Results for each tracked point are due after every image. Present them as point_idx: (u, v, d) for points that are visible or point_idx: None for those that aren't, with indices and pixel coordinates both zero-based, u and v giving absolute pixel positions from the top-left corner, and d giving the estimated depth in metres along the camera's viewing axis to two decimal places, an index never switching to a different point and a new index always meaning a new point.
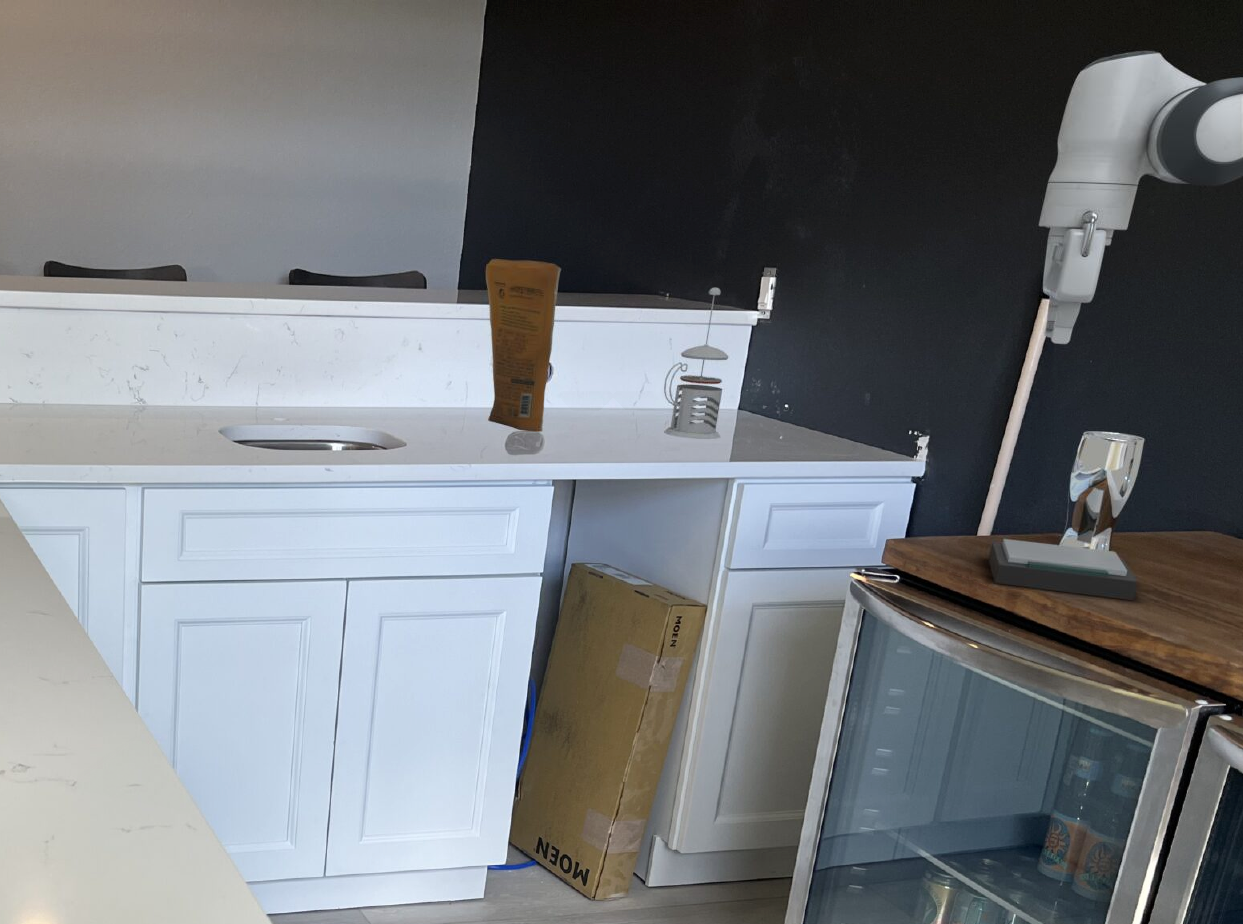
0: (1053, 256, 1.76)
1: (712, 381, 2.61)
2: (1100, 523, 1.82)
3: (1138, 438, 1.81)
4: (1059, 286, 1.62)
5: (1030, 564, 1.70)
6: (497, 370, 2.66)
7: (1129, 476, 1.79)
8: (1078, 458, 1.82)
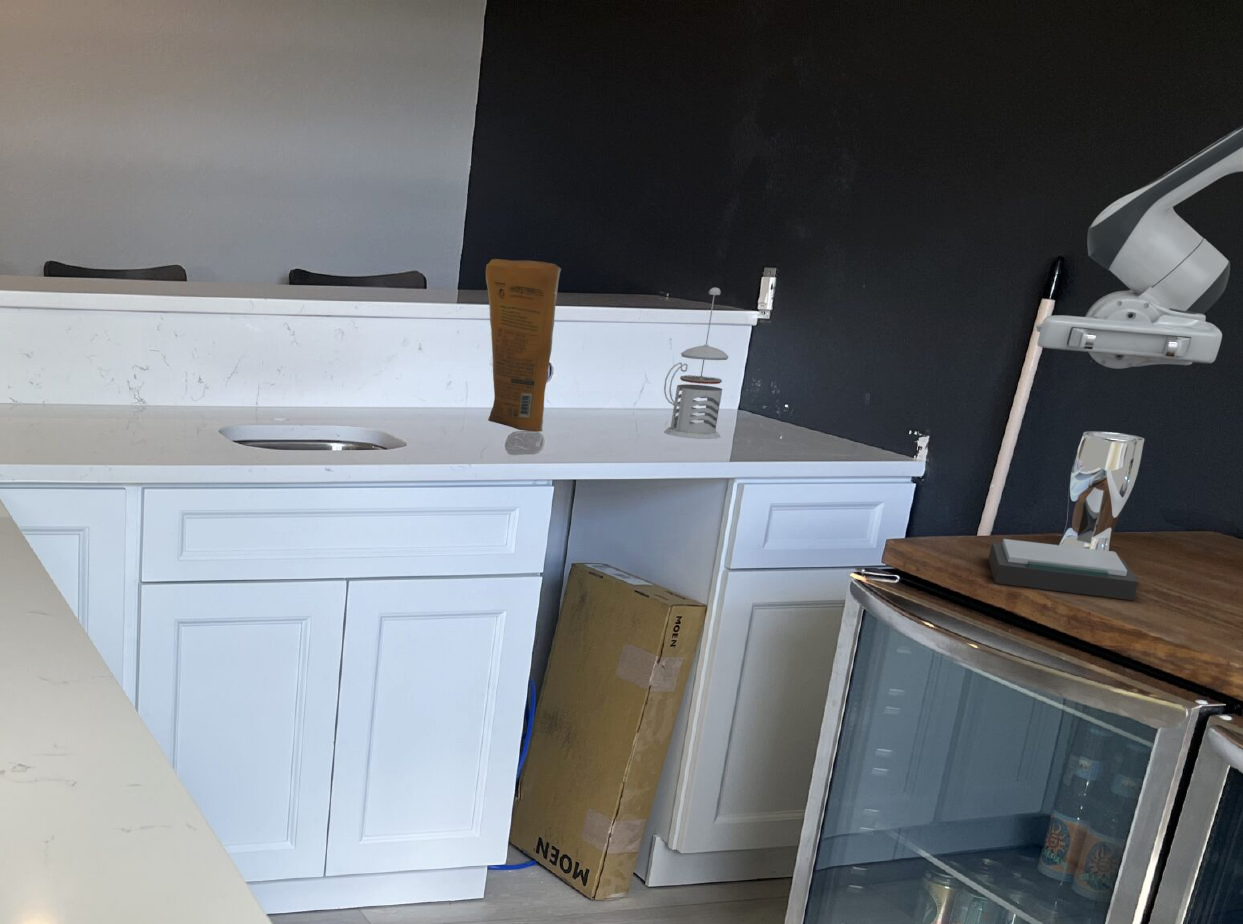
0: None
1: (712, 381, 2.61)
2: (1100, 523, 1.82)
3: (1138, 438, 1.81)
4: (1038, 345, 1.96)
5: (1030, 564, 1.70)
6: (497, 370, 2.66)
7: (1129, 476, 1.79)
8: (1078, 458, 1.82)
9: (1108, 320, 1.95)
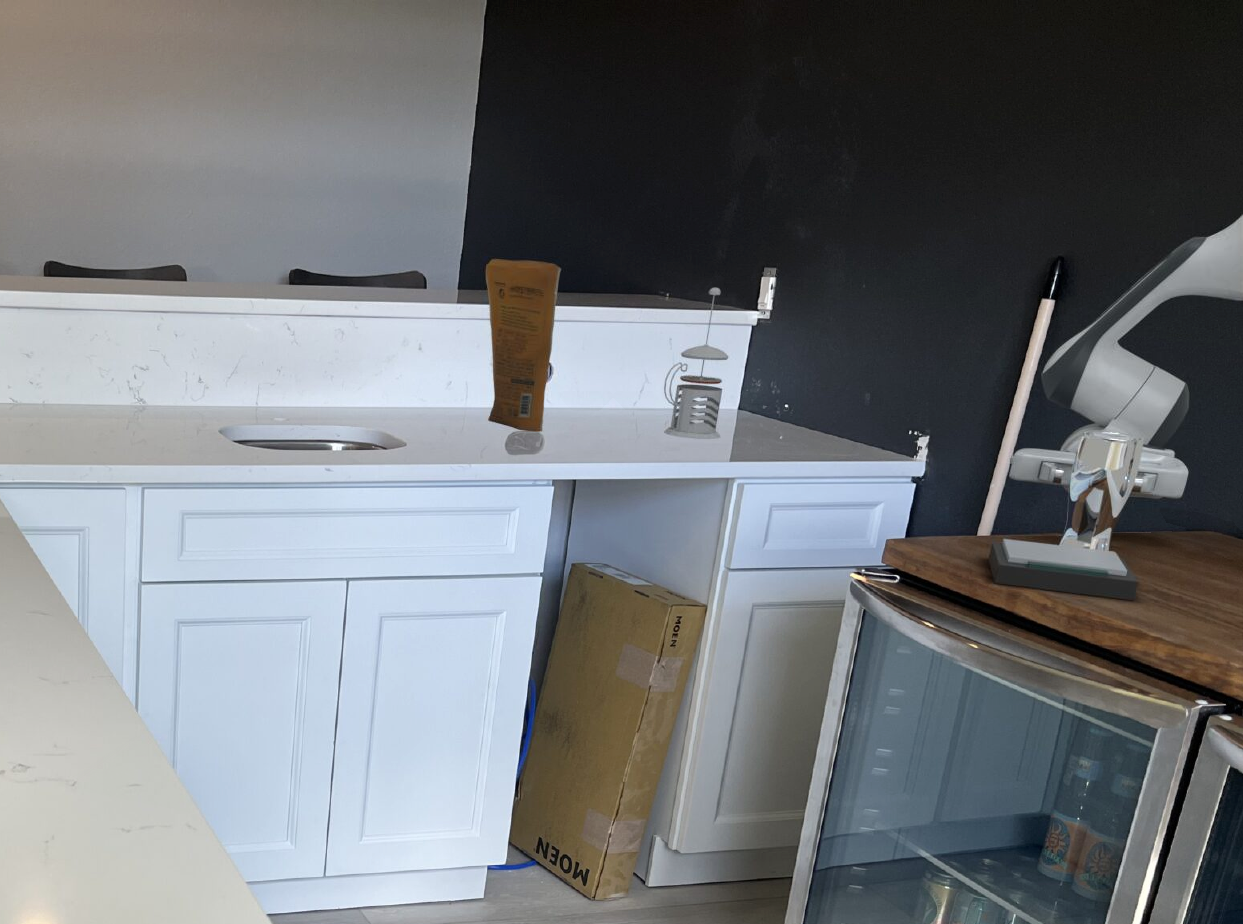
0: None
1: (712, 381, 2.61)
2: (1100, 523, 1.82)
3: (1138, 438, 1.81)
4: (1011, 477, 2.01)
5: (1030, 564, 1.70)
6: (497, 370, 2.66)
7: (1129, 476, 1.79)
8: (1078, 458, 1.82)
9: None
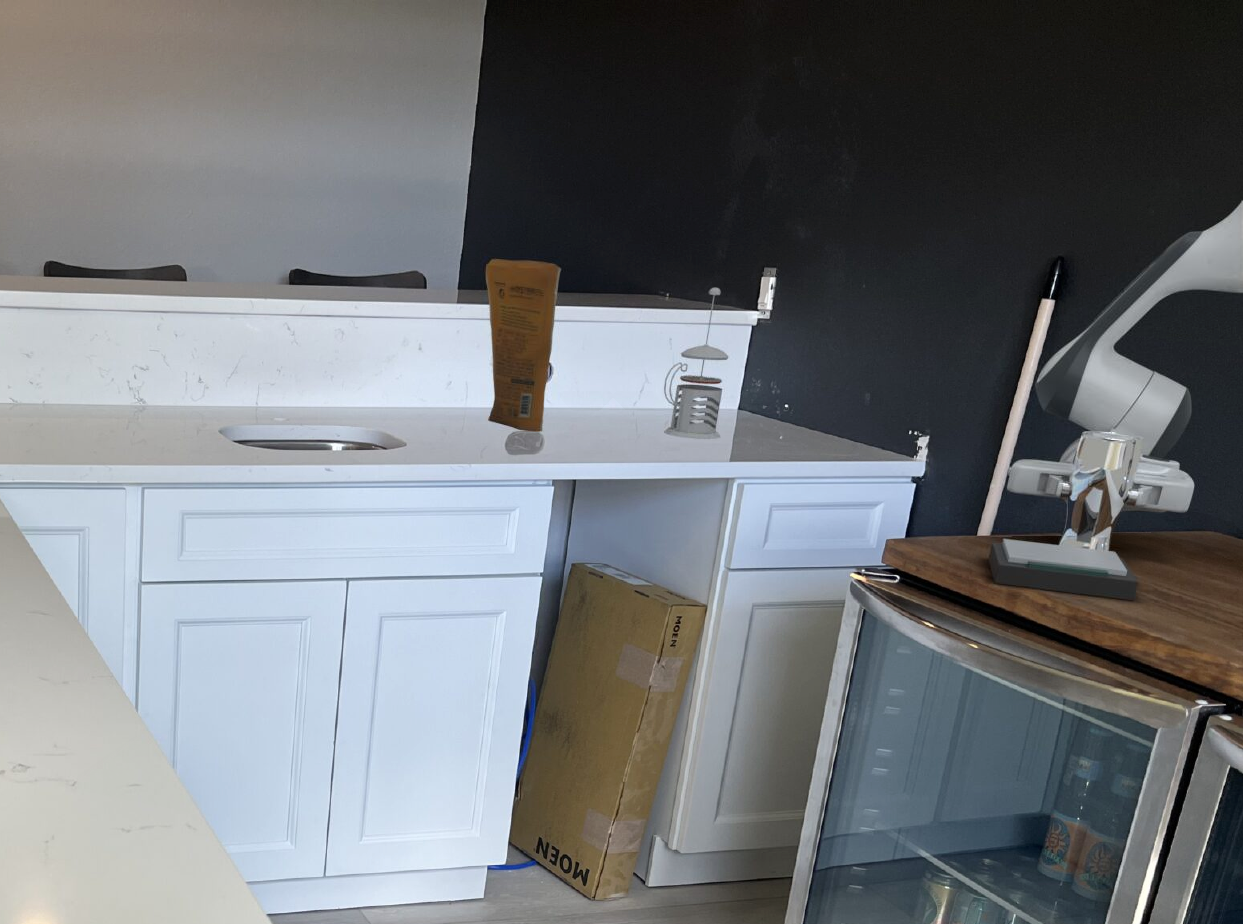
0: None
1: (712, 381, 2.61)
2: (1099, 523, 1.82)
3: (1137, 438, 1.81)
4: None
5: (1030, 564, 1.70)
6: (497, 370, 2.66)
7: (1128, 476, 1.79)
8: (1077, 458, 1.82)
9: None
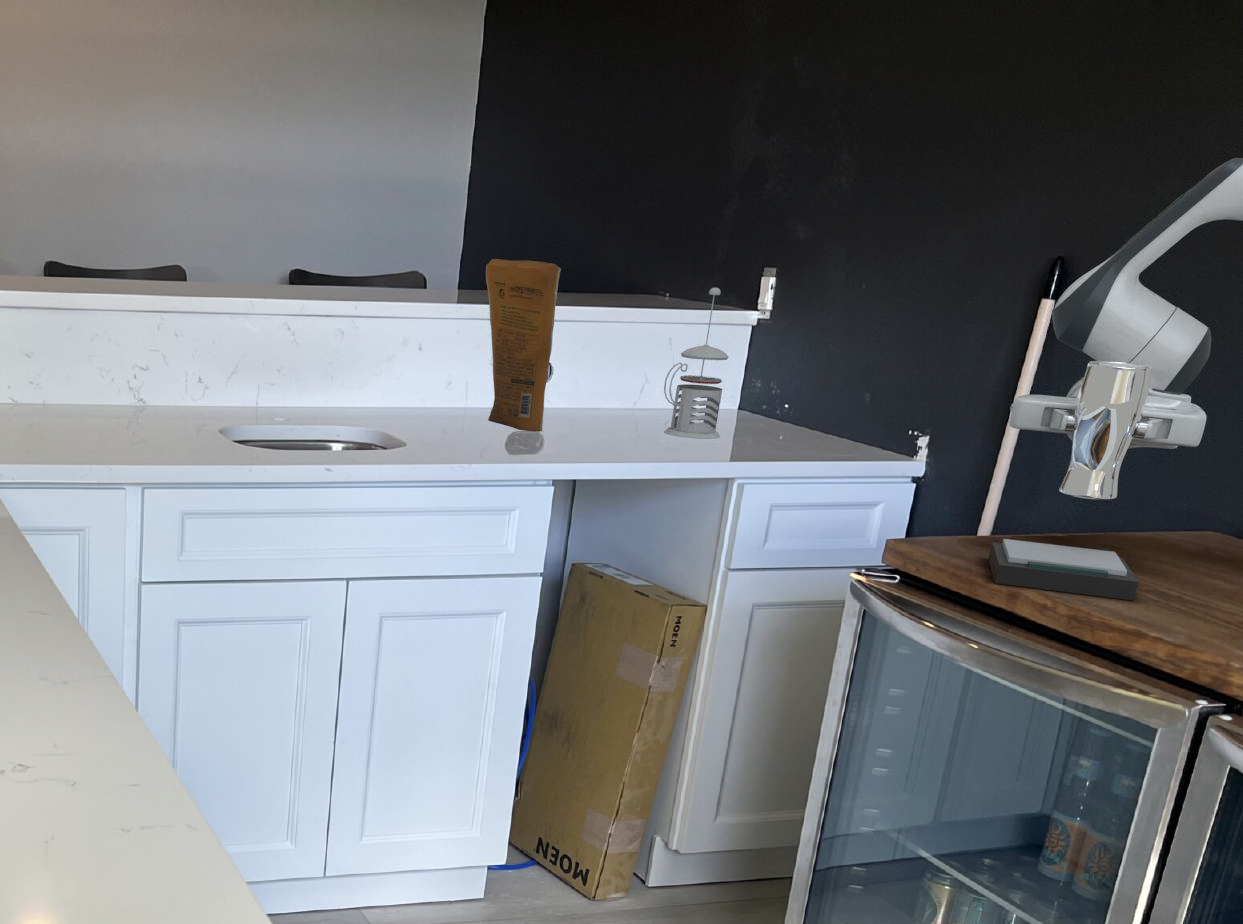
0: None
1: (712, 381, 2.61)
2: (1106, 457, 1.73)
3: (1146, 367, 1.72)
4: (1011, 426, 1.83)
5: (1030, 564, 1.70)
6: (497, 370, 2.66)
7: (1137, 406, 1.70)
8: (1083, 389, 1.73)
9: None
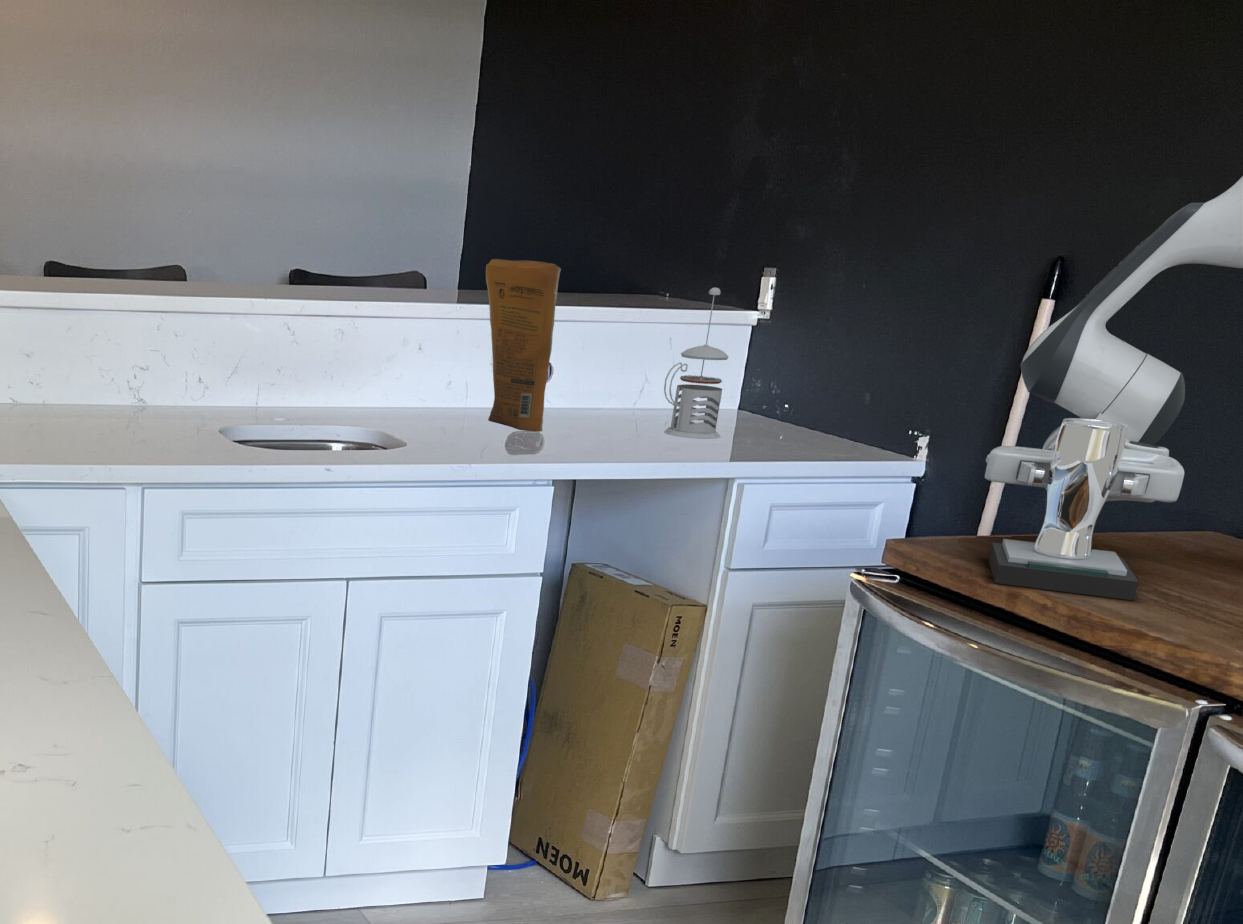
0: None
1: (712, 381, 2.61)
2: (1081, 517, 1.70)
3: (1121, 425, 1.69)
4: (986, 479, 1.80)
5: (1030, 564, 1.70)
6: (497, 370, 2.66)
7: (1111, 466, 1.67)
8: (1057, 447, 1.70)
9: None
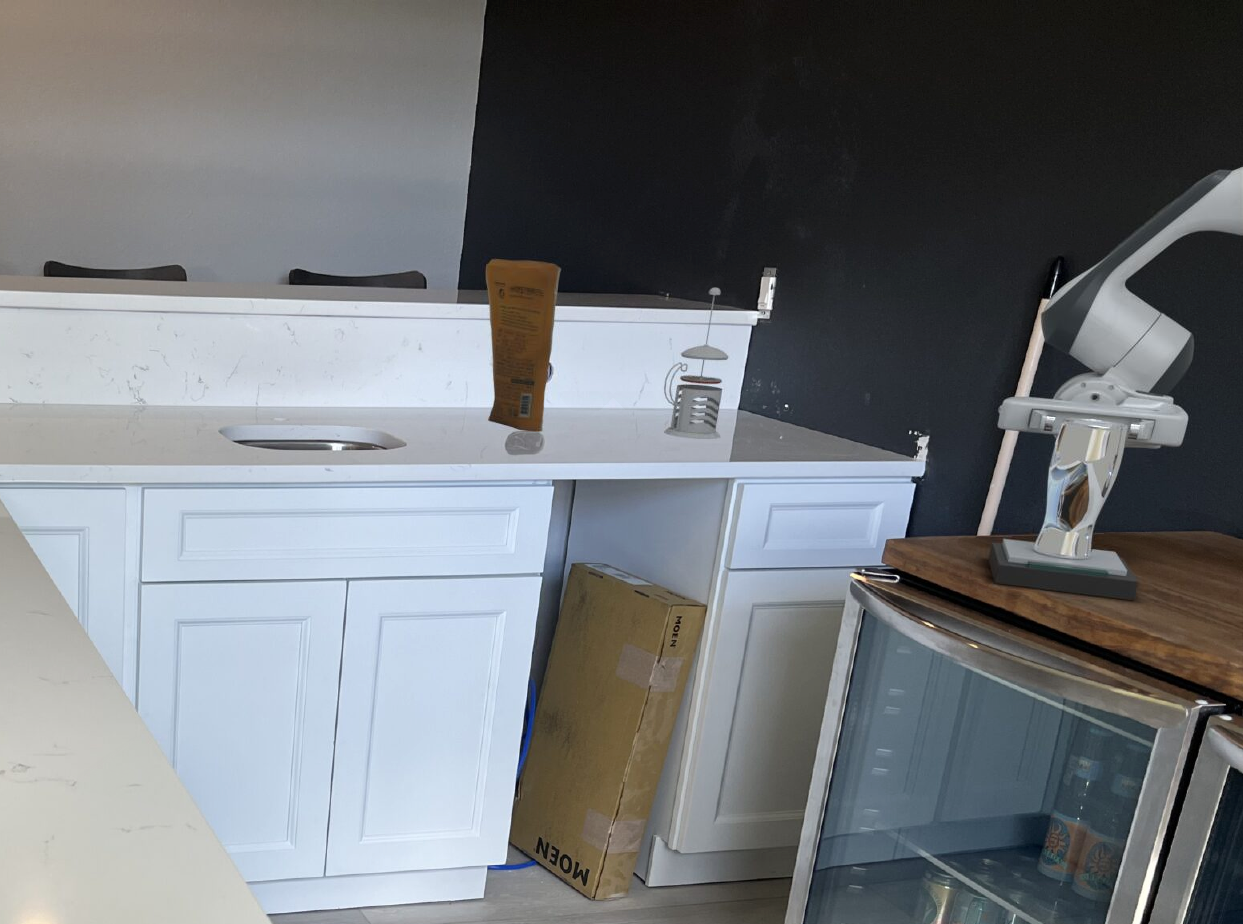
0: None
1: (712, 381, 2.61)
2: (1081, 516, 1.70)
3: (1121, 425, 1.69)
4: (999, 427, 1.89)
5: (1030, 564, 1.70)
6: (497, 370, 2.66)
7: (1111, 466, 1.67)
8: (1057, 447, 1.70)
9: (1071, 402, 1.88)
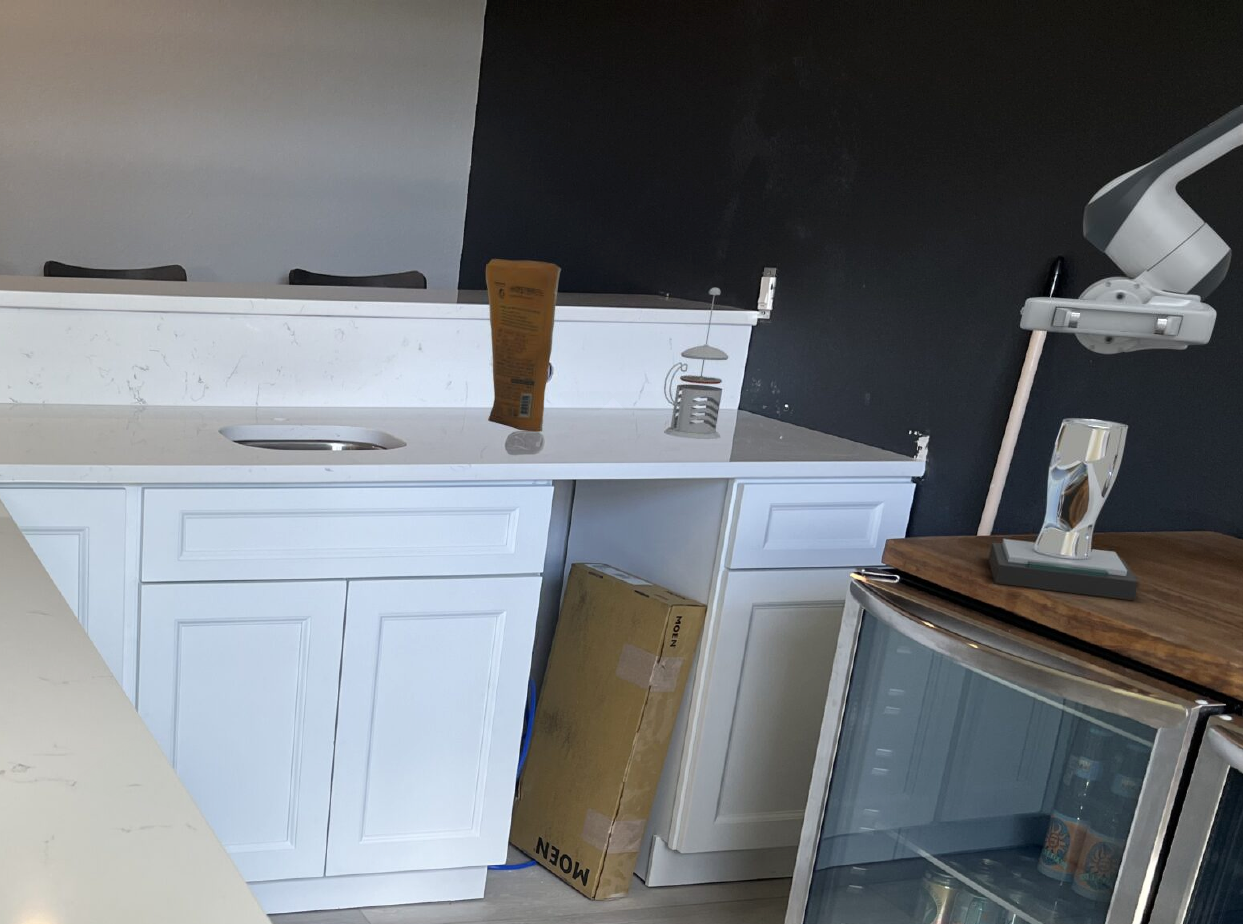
0: None
1: (712, 381, 2.61)
2: (1081, 516, 1.70)
3: (1121, 425, 1.69)
4: (1021, 327, 1.85)
5: (1030, 564, 1.70)
6: (497, 370, 2.66)
7: (1111, 466, 1.67)
8: (1057, 447, 1.70)
9: (1096, 301, 1.84)
